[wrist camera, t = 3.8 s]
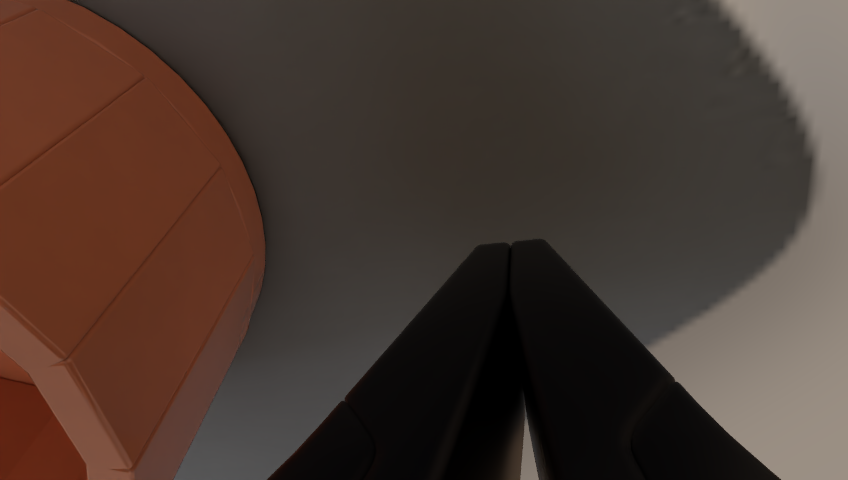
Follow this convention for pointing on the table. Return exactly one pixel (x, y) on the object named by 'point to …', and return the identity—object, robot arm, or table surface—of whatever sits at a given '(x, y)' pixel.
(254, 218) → the cup
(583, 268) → the table surface
